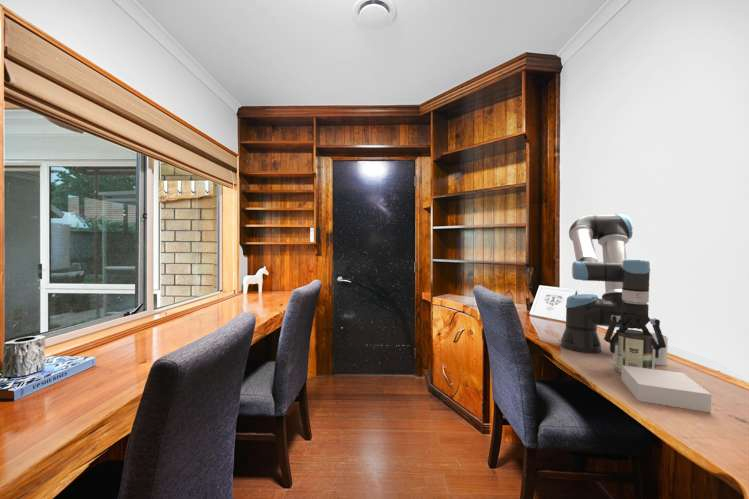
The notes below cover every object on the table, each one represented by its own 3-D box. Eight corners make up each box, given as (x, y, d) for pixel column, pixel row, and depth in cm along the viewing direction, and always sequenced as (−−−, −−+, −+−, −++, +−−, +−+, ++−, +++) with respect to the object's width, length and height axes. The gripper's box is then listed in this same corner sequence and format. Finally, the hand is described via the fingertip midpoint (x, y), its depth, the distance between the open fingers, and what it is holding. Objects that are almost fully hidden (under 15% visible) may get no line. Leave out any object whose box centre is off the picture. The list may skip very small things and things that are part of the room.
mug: (637, 357, 133) (637, 331, 132) (661, 359, 130) (662, 333, 129) (649, 367, 121) (650, 339, 121) (676, 371, 118) (677, 342, 118)
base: (621, 379, 110) (621, 365, 110) (682, 388, 104) (682, 373, 104) (638, 401, 95) (638, 384, 95) (710, 412, 89) (711, 394, 89)
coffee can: (640, 367, 121) (641, 329, 121) (658, 378, 111) (660, 337, 111) (609, 365, 123) (610, 327, 123) (624, 376, 113) (625, 335, 113)
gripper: (599, 301, 117) (598, 362, 118) (680, 306, 109) (678, 373, 109) (595, 298, 124) (593, 356, 125) (670, 302, 115) (668, 365, 116)
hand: (633, 363), depth 117 cm, fingers closed on coffee can, 10 cm apart
